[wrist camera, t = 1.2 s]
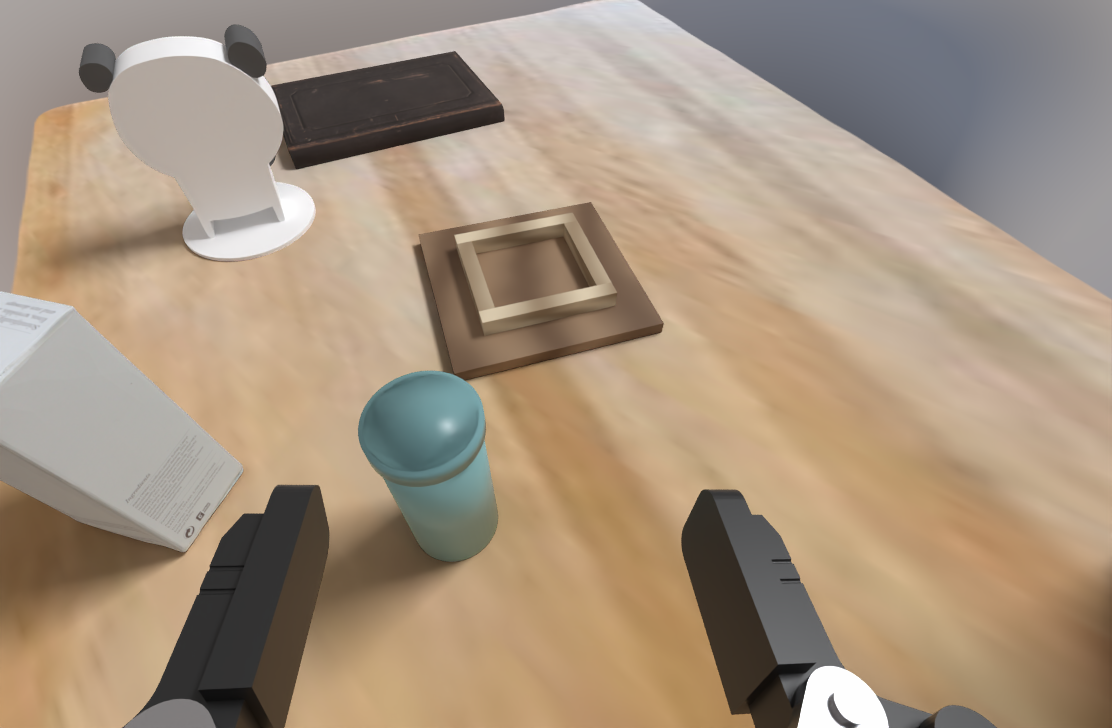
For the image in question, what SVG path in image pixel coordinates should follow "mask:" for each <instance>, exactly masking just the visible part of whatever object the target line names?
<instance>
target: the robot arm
mask: <svg viewBox="0 0 1112 728" xmlns="http://www.w3.org/2000/svg"><path fill="white" fill-rule="evenodd" d="M681 543H682V552H683V556H684V560H685V563H686V566H687V570H688V573H689V576H690V580H691V583H692V586H693V589H694V593H695V596H696V599H697V603H698V606H699V609H700V612H701V616H702V619H703V622H704V626H705V629H706V632H707V635H708V639H709V642H710V645H711V649H712V652H713V655H714V658H715V662H716V665H717V668H718V672H719V675H720V678H721V681H722V685H723V688H724V691H725V694H726V698H727V701H728V704H729V708H730V711H731V714H732V715H734V714H750V713H751V716H752V719H753V722H754V725H755V728H996V727H995V726H994V725H993V724H992V723H991V722H990V721H988V720H987V719H986V718H984V717H983V716H982V715H980V714H978V713H977V712H975V711H973V710H970V709H968V708H965V707H962V706H956V705H952V706H947V707H944V708H942V709H941V710H939V711H937V712H936V713H934V714H930V713H926V712H923V711H920V710H917V709H914V708H911V707H908V706H904V705H901V704H898V703H895V702H892V701H889V700H886V699H883V698H881V697H879V696H877V695H875V694H874V693H873V691H872V690H871V689H870V688H869V687H868V686H867V685H866V684H865V683H864V682H863V681H862V680H861V679H860V678H858V677H857V676H855V675H854V674H853V673H851V672H849V671H847V670H846V669H845V668H844V666H843V665H842V663H841V662H840V660H839V659H838V657H837V655H836V653H835V651H834V649H833V647H832V644H831V642H830V640H829V638H828V636H827V634H826V632H825V630H824V627H823V625H822V623H821V621H820V619H819V617H818V615H817V613H816V610H815V608H814V606H813V604H812V602H811V600H810V598H809V596H808V593H807V591H806V589H805V587H804V585H803V583H801V582H800V576H799V574H798V572H797V570H796V568H795V566H794V564H792V563H791V557H790V555H789V553H788V551H787V549H786V547H785V545H784V543H783V540H782V538H781V536H780V535H779V534H778V533H777V531H776V530H775V529H774V528H773V527H772V526H771V525H770V524H769V522H768V521H767V520H766V519H765V518H764V517H763V516H762V515H752V514H751V512H750V510H749V508H748V505H747V503H746V501H745V499H744V497H743V495H742V494H741V493H740V492H739V491H738V490H702V491H701V493H700V494H699V496H698V498H697V501H696V503H695V505H694V507H693V509H692V511H691V513H690V515H689V517H688V519H687V521H686V523H685V525H684V528H683V531H682V538H681ZM328 548H329V527H328V522H327V517H326V513H325V508H324V504H323V499H322V494H321V490H320V487H319V486H318V485H277V486H276V487H275V488H274V490H273V492H272V494H271V496H270V499H269V502H268V504H267V507H266V510H265V512H264V514H243V515H242V516H241V517H240V518H239V520H238V521H237V522H236V523H235V524H234V525H233V526H232V527H231V528H230V529H229V530H228V532H227V533H226V534H225V535H224V536H223V537H222V538H221V541H220V543H219V545H218V548H217V550H216V552H215V555H214V557H213V559H212V562H211V564H210V570H209V571H207V573H206V576H205V578H204V580H203V583H202V585H201V587H200V593H199V595H197V597H196V599H195V601H194V604H193V606H192V608H191V611H190V613H189V615H188V618H187V620H186V622H185V625H184V627H183V629H182V632H181V634H180V636H179V639H178V641H177V643H176V646H175V648H174V650H173V653H172V655H171V657H170V660H169V662H168V664H167V667H166V669H165V671H164V674H163V676H162V678H161V681H160V683H159V685H158V687H157V689H156V691H155V692H154V694H153V695H152V697H151V699H150V700H149V701H148V703H147V704H146V705H145V706H144V708H143V709H142V710H141V711H140V712H139V713H138V714H137V715H136V716H135V717H134V718H133V719H132V720H131V721H130V722H129V723H127V724H126V725H125V726H124V727H123V728H284V727H285V723H286V719H287V715H288V711H289V707H290V703H291V699H292V695H293V691H294V687H295V683H296V679H297V675H298V671H299V667H300V663H301V659H302V655H303V651H304V647H305V643H306V639H307V635H308V631H309V627H310V623H311V619H312V615H313V611H314V607H315V603H316V599H317V595H318V591H319V587H320V583H321V579H322V576H323V572H324V568H325V564H326V559H327V554H328Z"/></svg>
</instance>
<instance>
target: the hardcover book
mask: <svg viewBox="0 0 1112 728" xmlns="http://www.w3.org/2000/svg"><path fill="white" fill-rule="evenodd" d="M271 88H272V90H273V92H274V94H275V96H276V99H277V103H278V106H279V110H280V114H281V118H282V121H283V135H284V138H285V141H286V144H287V147H288V150H289V153H290V155H291V157H292V160H293V162H294V165H295V167H296V169H300V168H304V167H309V166H313V165H317V164H322V163H326V162H330V161H335V160H339V159H343V158H348V157H352V156H356V155H360V154H365V153H369V152H373V151H378V150H382V149H386V148H391V147H395V146H399V145H404V144H408V143H412V142H416V141H421V140H425V139H429V138H434V137H438V136H442V135H447V134H451V133H455V132H460V131H464V130H468V129H473V128H477V127H481V126H485V125H490V124H494V123H498V122H503V121H504V109H503V106H502V104H501V103H500V102H499V100H498V99H497V98H496V97H495V96H494V95H493V94H492V92H491V91H490V90H489V89H488V88H487V87H486V86H485V84H484V83H483V82H482V81H481V80H480V79H479V78H478V76H477V75H476V74H475V73H474V72H473V71H472V70H471V69H470V67H469V66H468V65H467V64H466V63H465V62H464V61H463V59H462V58H461V57H460V56H459V55H458V54H457V53H456V51H454V52H449V53H443V54H438V55H432V56H427V57H422V58H416V59H411V60H406V61H400V62H395V63H390V64H384V65H379V66H374V67H368V68H363V69H358V70H352V71H347V72H341V73H336V74H331V75H325V76H320V77H315V78H309V79H304V80H299V81H293V82H288V83H283V84H277V85H272V86H271Z"/></svg>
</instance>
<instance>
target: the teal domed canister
mask: <svg viewBox="0 0 1112 728" xmlns="http://www.w3.org/2000/svg"><path fill="white" fill-rule="evenodd" d="M485 433H486V422H485V416H484V410H483V405H482V402H481V399H480V397H479V396H478V394H477V392H476V391H475V390H474V388H473V387H472V386H471V385H470V384H469V383H467V382H466V381H464V380H463V379H461V378H459V377H457V376H455V375H452V374H450V373H446V372H440V371H420V372H414V373H410V374H407V375H404V376H401V377H399V378H396V379H395V380H393V381H391V382H389V383H388V384H386V385H385V386H383V387H382V388H381V389H379V390H378V391H377V392H376V393H375V394H374V395H373V396H372V398H371V399H370V400H369V401H368V403H367V404H366V406H365V408H364V410H363V412H362V414H361V417H360V421H359V426H358V437H359V442H360V445H361V447H362V450H363V452H364V453H365V455H366V457H367V459H368V461H369V462H370V464H371V466H372V467H373V468H374V470H375V471H376V472H377V473H378V474H379V475H381V476H382V477H383V478H384V480H385V482H386V484H387V486H388V488H389V490H390V492H391V493H392V495H393V497H394V499H395V501H396V503H397V505H398V507H399V508H400V510H401V512H402V514H403V516H404V518H405V520H406V522H407V523H408V525H409V527H410V529H411V531H412V533H413V535H414V537H415V538H416V540H417V542H418V544H419V546H420V547H421V548H422V549H423V551H425V552H426V553H427V554H428V555H430V556H431V557H433V558H435V559H438V560H441V561H447V562H455V561H461V560H465V559H468V558H470V557H472V556H474V555H476V554H477V553H479V552H480V551H481V550H483V549H484V548H485V547H486V546H487V545H488V543H489V542H490V541H491V539H492V537H493V536H494V534H495V531H496V528H497V524H498V510H497V505H496V499H495V494H494V489H493V483H492V478H491V473H490V467H489V462H488V457H487V451H486V446H485V441H484V439H485Z"/></svg>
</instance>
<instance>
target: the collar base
mask: <svg viewBox="0 0 1112 728" xmlns="http://www.w3.org/2000/svg"><path fill="white" fill-rule="evenodd" d="M419 239H420V243H421V247H422V251H423V255H424V258H425V262H426V266H427V270H428V274H429V278H430V282H431V286H432V290H433V294H434V297H435V301H436V305H437V309H438V313H439V317H440V321H441V325H442V329H443V333H444V336H445V340H446V344H447V348H448V352H449V356H450V360H451V364H452V368H453V372H454V375H455V376H457V377H459V378H461V379H463V380H467V379H471V378H475V377H480V376H484V375H488V374H492V373H496V372H500V371H504V370H508V369H512V368H516V367H521V366H525V365H529V364H533V363H537V362H541V361H545V360H549V359H553V358H557V357H561V356H566V355H570V354H574V353H578V352H582V351H586V350H590V349H594V348H598V347H602V346H606V345H611V344H615V343H619V342H623V341H627V340H631V339H635V338H639V337H643V336H647V335H652V334H656V333H660V332H662V328H663V324H664V323H663V321H662V320H661V318H660V316H659V315H658V313H657V311H656V310H655V308H654V306H653V305H652V303H651V301H650V300H649V298H648V296H647V295H646V293H645V291H644V290H643V288H642V286H641V285H640V283H639V281H638V280H637V278H636V276H635V275H634V273H633V271H632V270H631V268H630V266H629V265H628V263H627V261H626V260H625V258H624V256H623V255H622V253H621V251H620V250H619V248H618V246H617V245H616V243H615V241H614V240H613V238H612V236H611V235H610V233H609V231H608V230H607V228H606V226H605V225H604V223H603V222H602V220H601V218H600V217H599V215H598V213H597V212H596V210H595V208H594V207H593V205H592V203H591V202H590V203H584V204H579V205H574V206H568V207H563V208H558V209H552V210H547V211H542V212H536V213H531V214H526V215H520V216H515V217H510V218H504V219H499V220H494V221H488V222H483V223H478V224H472V225H467V226H462V227H456V228H451V229H446V230H440V231H435V232H430V233H424V234H419Z"/></svg>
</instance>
